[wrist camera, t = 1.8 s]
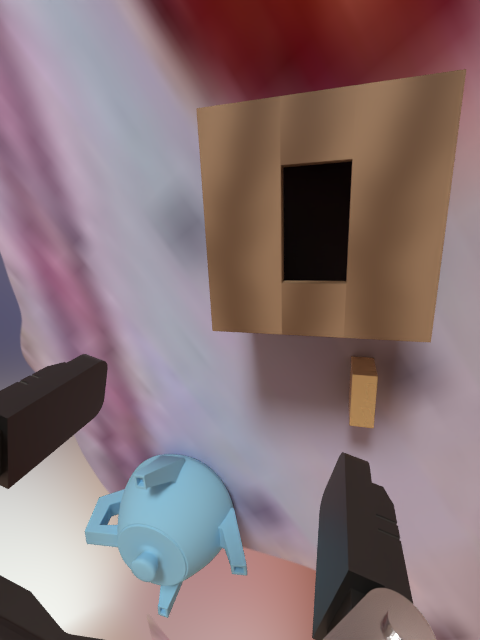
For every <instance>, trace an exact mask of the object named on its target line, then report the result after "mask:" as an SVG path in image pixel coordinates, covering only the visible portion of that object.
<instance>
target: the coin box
mask: <svg viewBox="0 0 480 640" xmlns="http://www.w3.org/2000/svg"><path fill="white" fill-rule="evenodd" d="M465 75H466V69H464V70H457V71H450V72H443V73H437V74H430V75H423V76H416V77H409V78H402V79H395V80H389V81H382V82H375V83H368V84H361V85H354V86H347V87H340V88H334V89H327V90H320V91H313V92H306V93H299V94H292V95H286V96H279V97H272V98H265V99H258V100H251V101H244V102H238V103H231V104H224V105H217V106H210V107H203V108H197V121H198V135H199V149H200V163H201V177H202V190H203V204H204V218H205V232H206V246H207V260H208V274H209V287H210V301H211V315H212V329H213V331H226V332H245V333H264V334H283V335H302V336H321V337H339V338H358V339H377V340H396V341H415V342H431V336H432V328H433V320H434V313H435V305H436V297H437V290H438V282H439V274H440V267H441V259H442V251H443V244H444V236H445V228H446V221H447V213H448V205H449V198H450V190H451V182H452V175H453V167H454V159H455V152H456V144H457V136H458V129H459V121H460V114H461V106H462V98H463V91H464V83H465ZM350 161H352V172H351V193H350V213H349V234H348V254H347V275H346V281H284V210H283V167H292V166H304V165H316V164H327V163H339V162H350Z"/></svg>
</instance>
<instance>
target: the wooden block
mask: <svg viewBox="0 0 480 640" xmlns="http://www.w3.org/2000/svg"><path fill="white" fill-rule="evenodd" d="M377 380H378V375H377V371H376V366H375V361H374V358H367V357H353V356H351V372H350V390H349V425H351V426H359V427H367V428H374V416H375V404H376V392H377Z"/></svg>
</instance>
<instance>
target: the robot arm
mask: <svg viewBox="0 0 480 640" xmlns="http://www.w3.org/2000/svg"><path fill="white" fill-rule="evenodd" d="M106 377H107V363H106V362H105V361H103V360H100V359H97V358H95V357H92V356H89V355H87V354H82V355H80V356H78V357H77V358H75V359H73V360H71V361H69V362H67V363H65V362H63V363H59V364H55V365H51V366H47V367H45V368H43V369H41V370H39V371H38V372H36V373H34V374H33V375H32V376H28V377H26V378H24V379H22V380H21V381H20V382H16V383H14V384H13V385H11V386H9V387H7V388H5V389H3V390H1V391H0V485H1V486H3V487H5V488H7V489H9V488H10V487H11V486H12V485H14V484H15V483H16V482H17V481H19V480H20V479H21V478H22V477H23V476H25V475H26V474H27V473H28V472H29V471H31V470H32V469H33V468H34V467H35V466H37V465H38V464H39V463H40V462H41V461H43V460H44V459H45V458H46V457H47V456H49V455H50V454H51V453H52V452H54V451H55V450H56V449H57V448H58V447H60V446H61V445H62V444H63V443H64V442H66V441H67V440H68V439H69V438H70V437H72V436H73V435H74V434H75V433H76V432H78V431H79V430H80V429H81V428H82V427H84V426H85V425H86V424H87V423H88V422H90V421H91V420H92V419H93V418H94V417H95V416H96V415H97V414H98V413H99V411H100V409H101V407H102V405H103V402H104V395H105V386H106ZM396 524H397V520H396V515H395V510H394V505H393V503H392V501H391V500H390V498H389V496H388V495H387V493H386V491H385V489H384V488H383V487H382V486H379V485H377V484H374V483H372V481H371V473H370V466H369V463H368V462H367V461H364V460H362V459H359V458H357V457H354V456H351V455H349V454H346V453H341V455H340V456H339V459H338V461H337V463H336V465H335V468H334V470H333V472H332V475H331V477H330V479H329V481H328V484H327V486H326V488H325V491H324V494H323V497H322V501H321V506H320V513H319V531H318V548H317V565H316V583H315V601H314V618H313V636H312V638H313V639H315V640H436V638H435V635H434V633H433V631H432V629H431V627H430V625H429V624H428V622H427V620H426V619H425V618H424V616H423V615H422V613H421V612H420V611H419V610H418V609H417V608H416V607H415V606H414V605H413V601H412V596H411V591H410V586H409V581H408V576H407V570H406V565H405V560H404V555H403V550H402V545H401V541H399V538H400V535H399V530H398V526H397V525H396ZM0 640H103V639H96V638H90V637H83V636H77V635H71V634H68V633H66V632H64V631H63V630H62V629H61V628H60V626H59V625H58V624H57V623H56V622H55V621H54V619H53V618H52V617H51V616H50V614H49V613H48V612H47V611H46V610H45V608H44V607H43V606H42V605H41V604H40V602H39V601H38V600H37V599H36V598H35V596H34V595H33V594H32V593H31V592H30V591H28V590H26V589H25V588H23V587H21V586H19V585H17V584H15V583H13V582H12V581H10V580H8V579H6V578H4V577H2V576H0Z"/></svg>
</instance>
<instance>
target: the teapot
mask: <svg viewBox="0 0 480 640" xmlns="http://www.w3.org/2000/svg"><path fill="white" fill-rule="evenodd" d="M117 514H119V516H118V525H107V524H108V522H109V520H110V518H111V516H114V515H117ZM85 535H86V542H87V544H94V545H103V546H112V547H118V548H119V552H120V554H121V556H122V558H123V560H124V562H125V563H126V564H127V565H128V567H129V568H130V569H131V570H132V572H133V574H134V575H135V576H136V577H137V578H139V579H140V580H142V581H145V582H151V583H154V584H157V585H161V588H160V598H159V604H158V614H159V615H162V616H164V617H167V618H168V617H169V614H170V612H171V609H172V607H173V604H174V602H175V599H176V597H177V595H178V592H179V590H180V587H181V585H182V582H183V581H184V580H186V579H188V578H189V577H191V576H192V575H194V574H195V573H197V572H198V571H200V570H201V569H202V568H204V567H205V566H206V565H207V564H208V563H210V561H212V560H213V558H214V557H215V556H216V555H217V554H218V553H219V551H220V550H221V549H222V548H224V549H225V551H226V554H227V556H228V560H229V563H230V565H231V571H232V574H237V575H247V566H246V561H245V556H244V551H243V547H242V542H241V538H240V533H239V529H238V524H237V520H236V515H235V511H234V508H233V504H232V500H231V498H230V495H229V493H228V491H227V489H226V487H225V485H224V483H223V482H222V480H221V479H220V478H219V476H218V475H217V474H216V473H215V472H214V471H213V470H212V469H211V468H210V467H208V466H207V465H206V464H204V463H202V462H201V461H199V460H197V459H194V458H192V457H189V456H184V455H177V454H164V455H157V456H154V457H151V458H149V459H147V460H145V461H144V462H143V463H141V464H140V465H139V466H138V467H137V468H136V470H135V471H134V473H133V474H132V476H131V477H130V479H129V481H128V483H127V485H126V488H125V489H124V490H121V491H118V492H114V493H111V494H108V495H105V496H102V497H99V499H98V502H97V504H96V506H95V509H94V511H93V513H92V516H91V518H90V520H89V523H88V525H87V527H86V530H85Z"/></svg>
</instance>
